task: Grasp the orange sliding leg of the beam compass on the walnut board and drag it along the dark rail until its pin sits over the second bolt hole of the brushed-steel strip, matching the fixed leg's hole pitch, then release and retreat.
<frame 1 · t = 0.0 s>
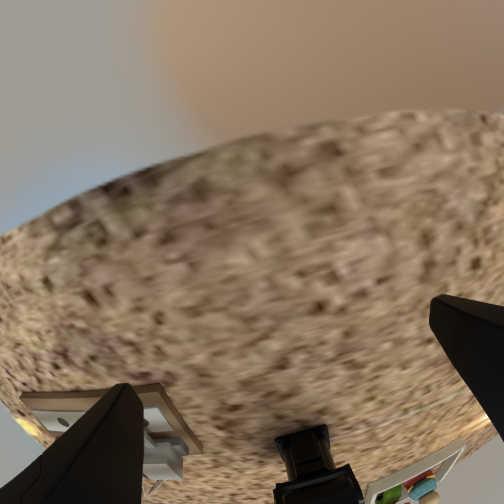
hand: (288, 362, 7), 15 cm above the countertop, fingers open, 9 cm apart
colourful wooden stacking toy: (409, 477, 43), resting in parts tray
board: (103, 424, 27), on the countertop
parts tray: (409, 478, 43), on the countertop
animal skull: (148, 484, 34), on the countertop
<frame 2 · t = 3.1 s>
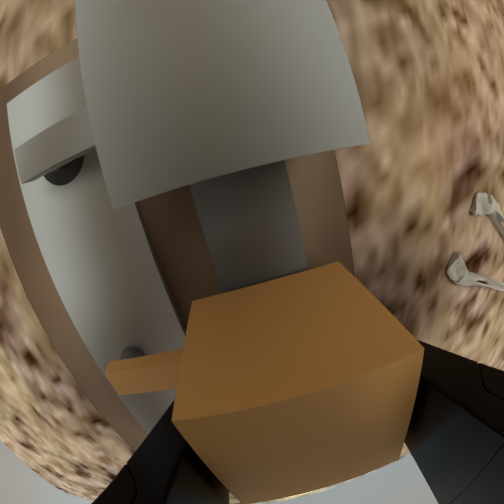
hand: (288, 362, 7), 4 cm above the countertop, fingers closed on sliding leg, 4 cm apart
board: (191, 318, 11), on the countertop
sliding leg: (224, 392, 7), point 4 cm above the countertop, slide at 0.0 cm, touching gripper
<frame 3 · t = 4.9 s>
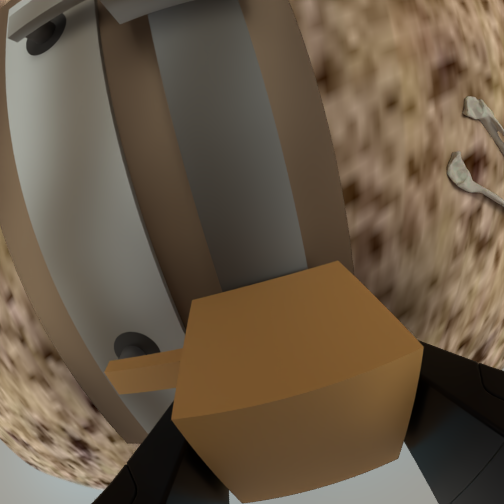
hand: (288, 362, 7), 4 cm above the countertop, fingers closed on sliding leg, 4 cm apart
board: (146, 191, 9), on the countertop
sliding leg: (223, 391, 7), point 4 cm above the countertop, slide at 4.9 cm, touching gripper
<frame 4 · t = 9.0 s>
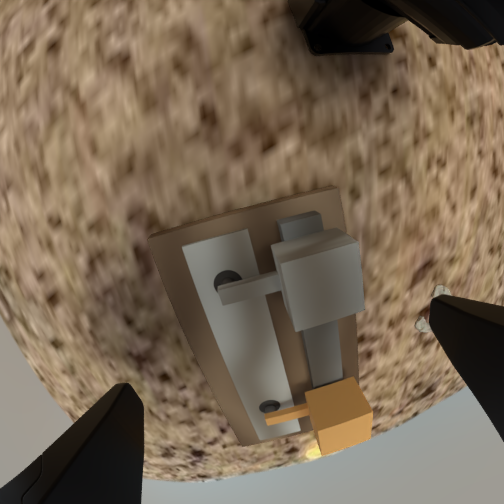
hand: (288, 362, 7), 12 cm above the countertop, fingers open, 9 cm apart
board: (278, 347, 21), on the countertop
animal skull: (465, 318, 24), on the countertop
sliding leg: (315, 419, 19), point 4 cm above the countertop, slide at 5.0 cm
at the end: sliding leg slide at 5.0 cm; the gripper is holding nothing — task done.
